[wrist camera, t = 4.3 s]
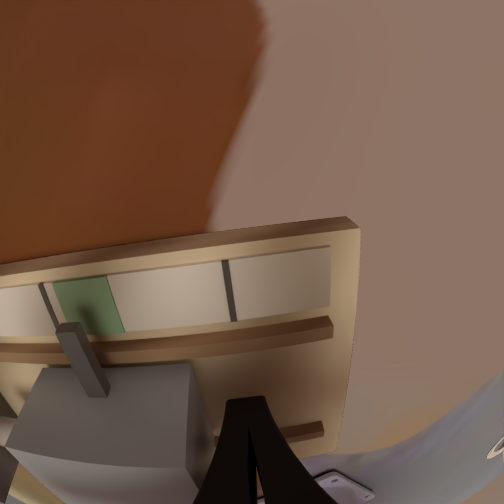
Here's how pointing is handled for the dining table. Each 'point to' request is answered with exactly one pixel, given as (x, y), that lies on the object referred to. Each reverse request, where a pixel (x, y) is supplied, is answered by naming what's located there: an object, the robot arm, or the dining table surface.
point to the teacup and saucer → (492, 453)
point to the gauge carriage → (112, 430)
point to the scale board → (200, 320)
